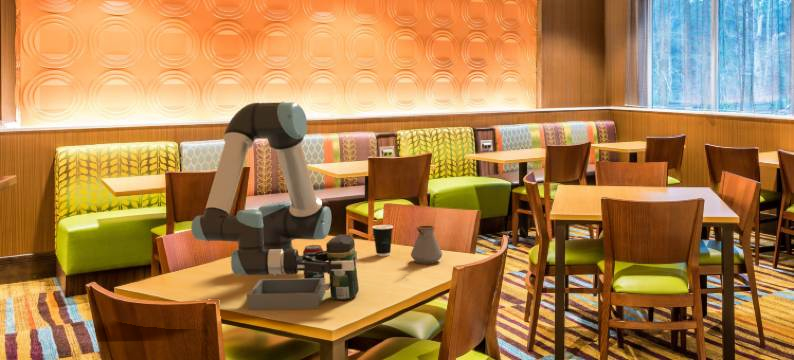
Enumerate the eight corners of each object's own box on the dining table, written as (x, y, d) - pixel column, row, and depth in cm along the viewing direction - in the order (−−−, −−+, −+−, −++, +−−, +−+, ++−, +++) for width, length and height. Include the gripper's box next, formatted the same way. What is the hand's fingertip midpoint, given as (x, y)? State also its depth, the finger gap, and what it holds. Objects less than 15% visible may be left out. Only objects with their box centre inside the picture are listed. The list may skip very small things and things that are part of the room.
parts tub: (260, 293, 236) (260, 279, 235) (333, 292, 235) (332, 278, 235) (247, 310, 217) (246, 294, 217) (326, 308, 217) (325, 293, 216)
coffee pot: (414, 258, 281) (413, 218, 280) (444, 258, 279) (443, 218, 277) (402, 271, 261) (401, 228, 259) (435, 272, 258) (434, 229, 256)
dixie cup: (386, 257, 283) (385, 229, 281) (369, 256, 287) (368, 227, 286) (397, 253, 289) (396, 225, 288) (380, 252, 294) (379, 224, 292)
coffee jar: (337, 289, 235) (332, 232, 231) (361, 290, 233) (357, 232, 229) (327, 301, 225) (322, 241, 222) (352, 301, 223) (347, 241, 220)
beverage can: (308, 286, 243) (307, 249, 242) (301, 281, 249) (299, 246, 248) (327, 283, 247) (326, 247, 245) (320, 278, 252) (318, 243, 251)
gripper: (291, 264, 238) (358, 263, 237) (277, 284, 213) (352, 283, 212) (290, 241, 237) (357, 239, 236) (276, 258, 212) (351, 256, 212)
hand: (355, 260), depth 224 cm, fingers open, 13 cm apart
